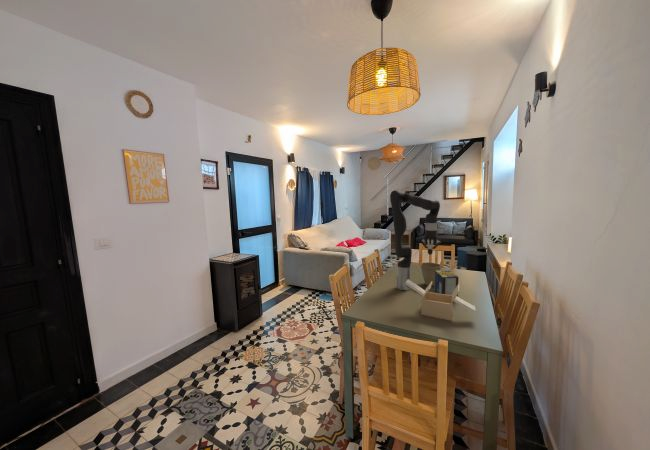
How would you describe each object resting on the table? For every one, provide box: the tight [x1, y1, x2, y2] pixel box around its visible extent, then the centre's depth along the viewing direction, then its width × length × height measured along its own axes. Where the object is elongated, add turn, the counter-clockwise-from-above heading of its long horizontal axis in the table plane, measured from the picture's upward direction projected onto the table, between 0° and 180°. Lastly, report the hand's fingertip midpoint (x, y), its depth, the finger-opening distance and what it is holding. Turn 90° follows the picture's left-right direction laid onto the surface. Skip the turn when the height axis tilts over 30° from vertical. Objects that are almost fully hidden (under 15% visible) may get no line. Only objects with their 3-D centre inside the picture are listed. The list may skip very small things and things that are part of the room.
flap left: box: [405, 279, 432, 298], centre depth 154 cm, size 8×14×13 cm
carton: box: [421, 291, 454, 322], centre depth 150 cm, size 16×14×10 cm
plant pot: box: [420, 262, 442, 287], centre depth 198 cm, size 15×15×16 cm
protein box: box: [434, 270, 460, 297], centre depth 177 cm, size 10×15×16 cm
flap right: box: [452, 283, 476, 313], centre depth 142 cm, size 8×14×13 cm
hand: (430, 254), depth 172 cm, fingers closed
